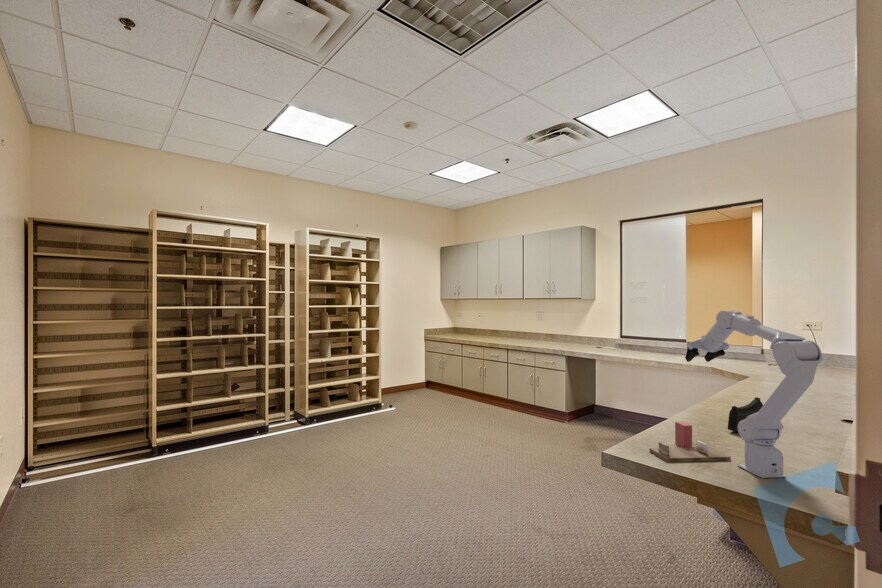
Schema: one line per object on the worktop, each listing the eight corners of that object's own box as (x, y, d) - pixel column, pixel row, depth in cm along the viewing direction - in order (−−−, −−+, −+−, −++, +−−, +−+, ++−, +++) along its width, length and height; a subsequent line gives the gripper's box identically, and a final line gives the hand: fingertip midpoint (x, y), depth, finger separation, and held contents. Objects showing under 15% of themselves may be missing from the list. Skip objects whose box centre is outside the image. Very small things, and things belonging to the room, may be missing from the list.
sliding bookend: (699, 449, 148) (699, 440, 148) (707, 453, 144) (707, 444, 144) (696, 449, 148) (696, 440, 148) (704, 453, 144) (704, 444, 144)
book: (692, 448, 154) (692, 425, 154) (684, 448, 153) (684, 425, 154) (682, 443, 159) (682, 421, 159) (675, 443, 158) (675, 421, 158)
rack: (708, 450, 152) (708, 438, 152) (730, 460, 142) (730, 447, 142) (649, 451, 149) (649, 439, 150) (667, 462, 140) (667, 449, 140)
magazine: (733, 412, 169) (761, 383, 186) (724, 410, 172) (752, 382, 189) (739, 452, 172) (765, 419, 189) (730, 449, 175) (757, 417, 192)
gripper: (729, 328, 155) (709, 351, 164) (691, 327, 153) (673, 350, 163) (740, 343, 150) (718, 366, 159) (700, 343, 148) (682, 366, 158)
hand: (696, 359), depth 161 cm, fingers open, 7 cm apart
